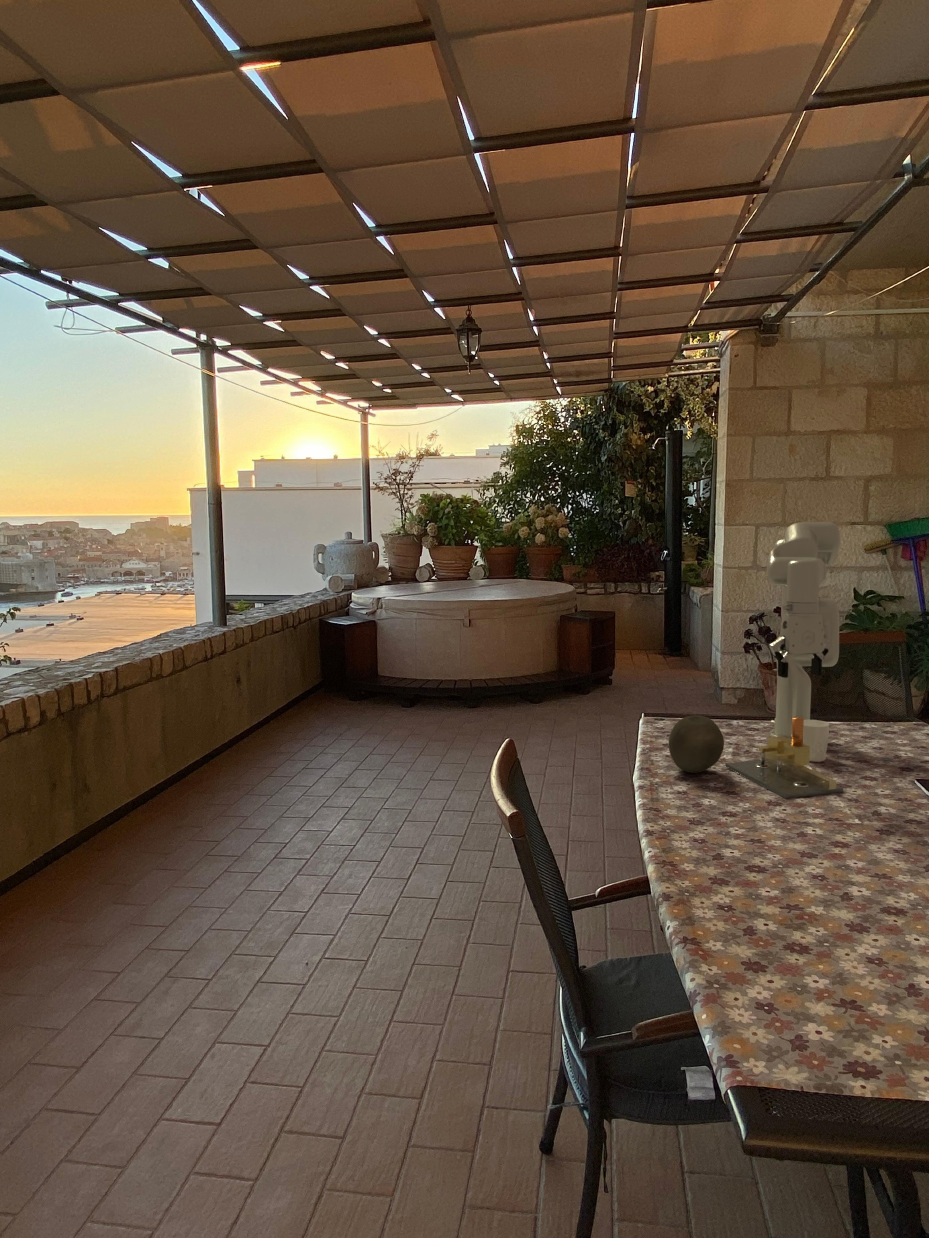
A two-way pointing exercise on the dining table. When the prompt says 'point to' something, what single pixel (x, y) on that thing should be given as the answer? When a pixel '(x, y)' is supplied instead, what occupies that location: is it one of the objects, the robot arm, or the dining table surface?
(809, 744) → the white cup
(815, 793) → the grey sliding latch board
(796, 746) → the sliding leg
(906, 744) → the dining table surface
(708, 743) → the dimpled olive sphere
